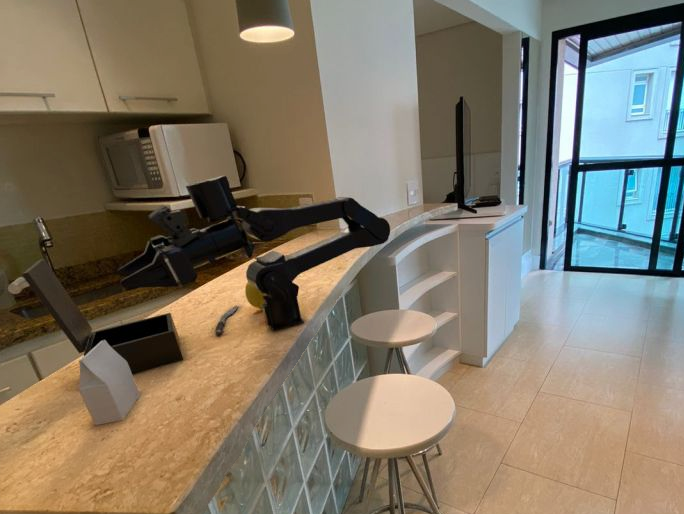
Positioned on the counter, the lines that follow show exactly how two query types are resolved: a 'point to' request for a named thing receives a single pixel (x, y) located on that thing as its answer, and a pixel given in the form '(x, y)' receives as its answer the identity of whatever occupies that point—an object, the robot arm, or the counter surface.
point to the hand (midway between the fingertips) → (119, 278)
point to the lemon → (254, 296)
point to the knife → (222, 320)
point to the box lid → (55, 302)
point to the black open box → (142, 342)
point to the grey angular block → (106, 384)
